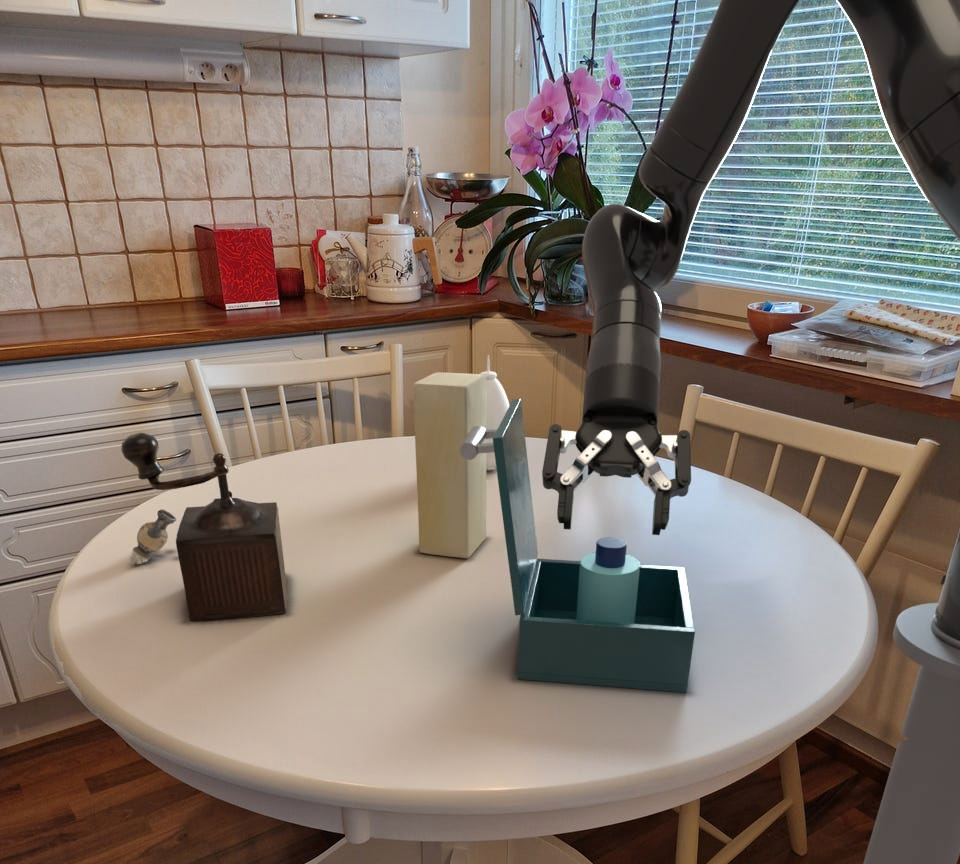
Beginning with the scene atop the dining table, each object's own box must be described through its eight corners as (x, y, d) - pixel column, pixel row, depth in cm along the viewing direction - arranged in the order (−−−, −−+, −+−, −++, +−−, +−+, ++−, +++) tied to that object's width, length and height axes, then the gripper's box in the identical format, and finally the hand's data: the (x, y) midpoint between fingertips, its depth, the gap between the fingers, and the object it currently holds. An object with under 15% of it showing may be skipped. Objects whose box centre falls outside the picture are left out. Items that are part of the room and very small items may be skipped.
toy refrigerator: (434, 531, 114) (431, 370, 104) (487, 537, 112) (488, 374, 102) (412, 552, 107) (406, 382, 97) (468, 560, 105) (467, 387, 95)
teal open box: (677, 621, 90) (684, 567, 87) (686, 692, 78) (695, 632, 75) (532, 611, 92) (534, 558, 89) (517, 679, 80) (519, 619, 77)
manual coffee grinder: (288, 574, 101) (270, 422, 92) (287, 614, 91) (268, 450, 83) (151, 584, 98) (121, 429, 90) (136, 627, 89) (101, 458, 80)
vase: (185, 548, 108) (177, 503, 105) (178, 565, 103) (170, 518, 100) (140, 551, 107) (131, 505, 104) (132, 568, 102) (122, 521, 100)
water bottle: (631, 635, 86) (641, 533, 81) (631, 662, 81) (642, 555, 76) (575, 631, 87) (582, 530, 81) (573, 658, 82) (580, 552, 76)
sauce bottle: (490, 459, 144) (491, 348, 135) (521, 470, 138) (524, 355, 130) (454, 467, 140) (452, 354, 131) (483, 478, 134) (484, 361, 126)
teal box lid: (520, 398, 82) (474, 403, 83) (502, 437, 69) (447, 442, 70) (537, 553, 89) (495, 556, 90) (523, 614, 76) (474, 617, 77)
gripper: (551, 358, 83) (536, 507, 79) (699, 362, 81) (692, 516, 77) (552, 400, 90) (539, 540, 86) (689, 406, 89) (682, 549, 84)
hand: (611, 529), depth 81 cm, fingers open, 8 cm apart
